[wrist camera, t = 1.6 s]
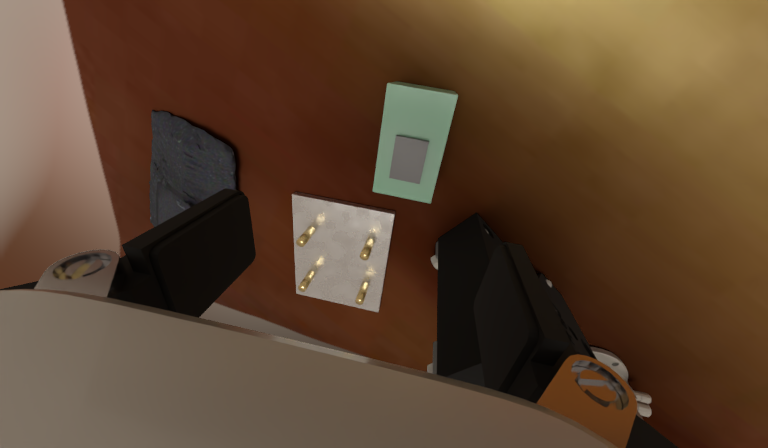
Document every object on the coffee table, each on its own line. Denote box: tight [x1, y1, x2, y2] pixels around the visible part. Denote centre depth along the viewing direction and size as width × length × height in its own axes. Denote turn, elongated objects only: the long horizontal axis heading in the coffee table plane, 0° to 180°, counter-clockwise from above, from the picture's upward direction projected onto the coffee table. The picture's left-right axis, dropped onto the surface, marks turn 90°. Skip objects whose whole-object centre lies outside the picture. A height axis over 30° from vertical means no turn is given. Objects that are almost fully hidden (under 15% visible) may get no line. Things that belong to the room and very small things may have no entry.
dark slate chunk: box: [149, 110, 236, 227], centre depth 39 cm, size 15×22×5 cm
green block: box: [373, 81, 458, 204], centre depth 28 cm, size 6×10×8 cm, turn 172°
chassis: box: [292, 192, 395, 312], centre depth 39 cm, size 14×18×4 cm
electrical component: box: [427, 212, 597, 387], centre depth 29 cm, size 18×10×20 cm, turn 45°
